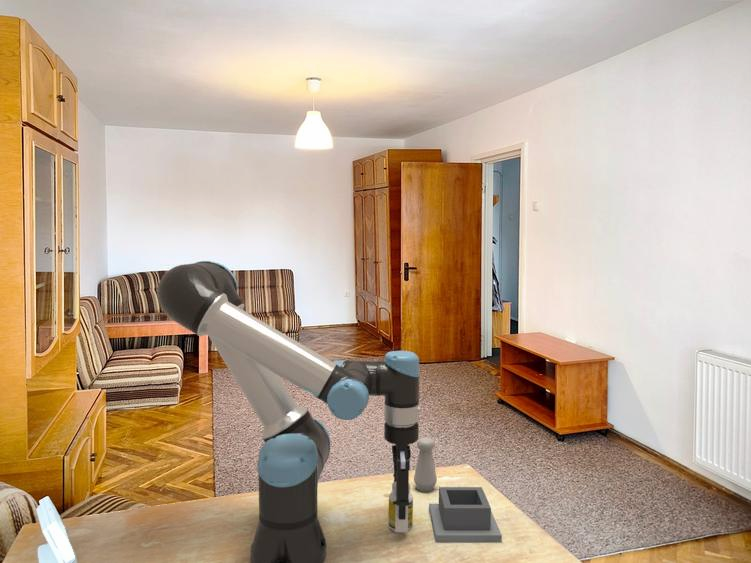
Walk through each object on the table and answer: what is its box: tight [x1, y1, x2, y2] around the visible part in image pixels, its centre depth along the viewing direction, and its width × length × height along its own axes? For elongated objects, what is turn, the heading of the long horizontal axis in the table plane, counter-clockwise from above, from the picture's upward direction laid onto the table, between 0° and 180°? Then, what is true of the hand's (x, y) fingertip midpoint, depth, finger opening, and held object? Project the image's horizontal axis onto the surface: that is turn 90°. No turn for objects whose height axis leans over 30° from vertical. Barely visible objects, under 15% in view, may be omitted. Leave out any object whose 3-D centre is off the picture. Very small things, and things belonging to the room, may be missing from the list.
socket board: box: [428, 486, 503, 543], centre depth 127 cm, size 14×14×6 cm
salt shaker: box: [413, 437, 438, 493], centre depth 144 cm, size 6×6×13 cm
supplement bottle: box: [387, 481, 414, 532], centre depth 126 cm, size 5×5×10 cm
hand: (400, 521), depth 126 cm, fingers open, 7 cm apart
